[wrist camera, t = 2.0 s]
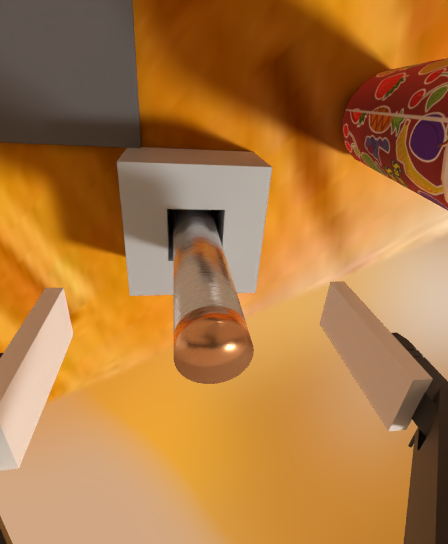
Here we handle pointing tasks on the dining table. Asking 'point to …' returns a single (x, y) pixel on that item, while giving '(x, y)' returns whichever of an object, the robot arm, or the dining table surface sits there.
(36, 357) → the robot arm
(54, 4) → the mat
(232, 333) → the peg
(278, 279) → the dining table surface
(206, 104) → the dining table surface
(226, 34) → the dining table surface
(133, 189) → the eye block
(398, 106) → the smoothie
